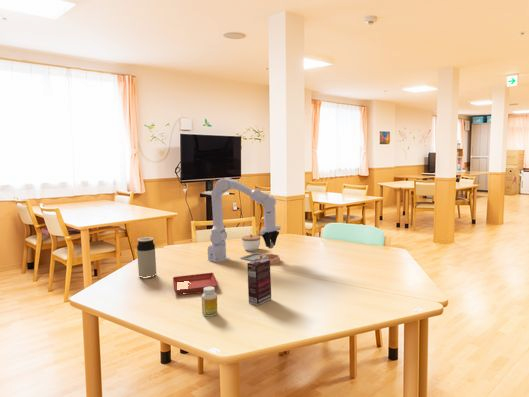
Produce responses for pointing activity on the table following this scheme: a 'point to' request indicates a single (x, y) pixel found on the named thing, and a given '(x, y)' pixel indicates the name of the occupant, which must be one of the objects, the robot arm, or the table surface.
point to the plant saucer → (195, 282)
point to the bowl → (271, 258)
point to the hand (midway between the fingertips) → (270, 245)
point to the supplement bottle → (209, 301)
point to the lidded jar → (251, 242)
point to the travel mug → (146, 256)
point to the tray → (251, 257)
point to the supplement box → (259, 281)
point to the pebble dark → (271, 245)
